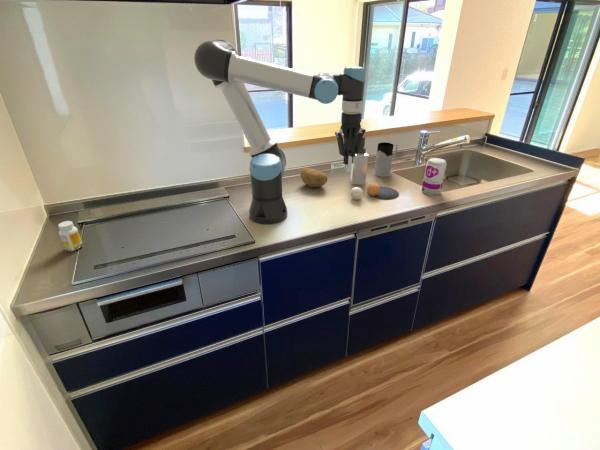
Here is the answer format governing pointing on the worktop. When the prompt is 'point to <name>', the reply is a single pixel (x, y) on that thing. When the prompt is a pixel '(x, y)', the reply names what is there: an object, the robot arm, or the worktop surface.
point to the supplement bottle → (69, 235)
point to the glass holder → (384, 159)
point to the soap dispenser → (360, 165)
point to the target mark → (386, 193)
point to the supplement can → (434, 176)
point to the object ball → (373, 189)
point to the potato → (313, 177)
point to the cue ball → (356, 193)
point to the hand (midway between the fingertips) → (347, 171)
